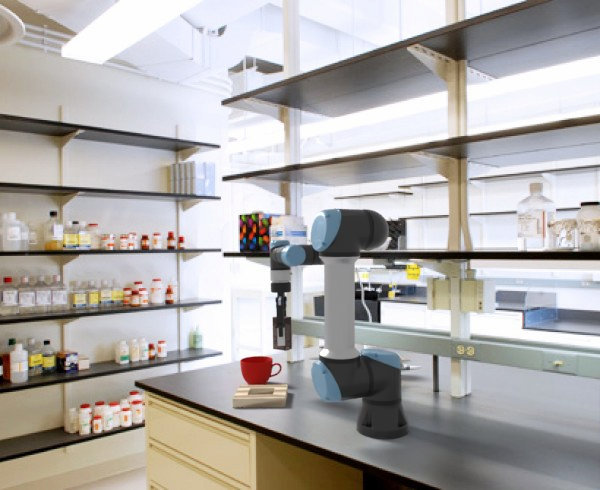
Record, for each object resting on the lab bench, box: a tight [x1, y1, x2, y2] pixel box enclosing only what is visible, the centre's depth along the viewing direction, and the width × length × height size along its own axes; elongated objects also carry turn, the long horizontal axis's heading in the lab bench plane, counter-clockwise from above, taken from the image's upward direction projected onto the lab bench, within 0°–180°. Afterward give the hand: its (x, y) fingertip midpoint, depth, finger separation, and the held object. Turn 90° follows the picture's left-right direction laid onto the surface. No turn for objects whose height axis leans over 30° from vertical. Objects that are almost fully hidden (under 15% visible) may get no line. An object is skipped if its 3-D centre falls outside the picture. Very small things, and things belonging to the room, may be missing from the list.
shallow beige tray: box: [232, 384, 289, 409], centre depth 177 cm, size 17×18×3 cm
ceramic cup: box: [239, 355, 283, 385], centre depth 197 cm, size 13×17×10 cm
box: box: [272, 315, 293, 351], centre depth 183 cm, size 6×4×12 cm
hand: (282, 343), depth 183 cm, fingers closed on box, 6 cm apart
